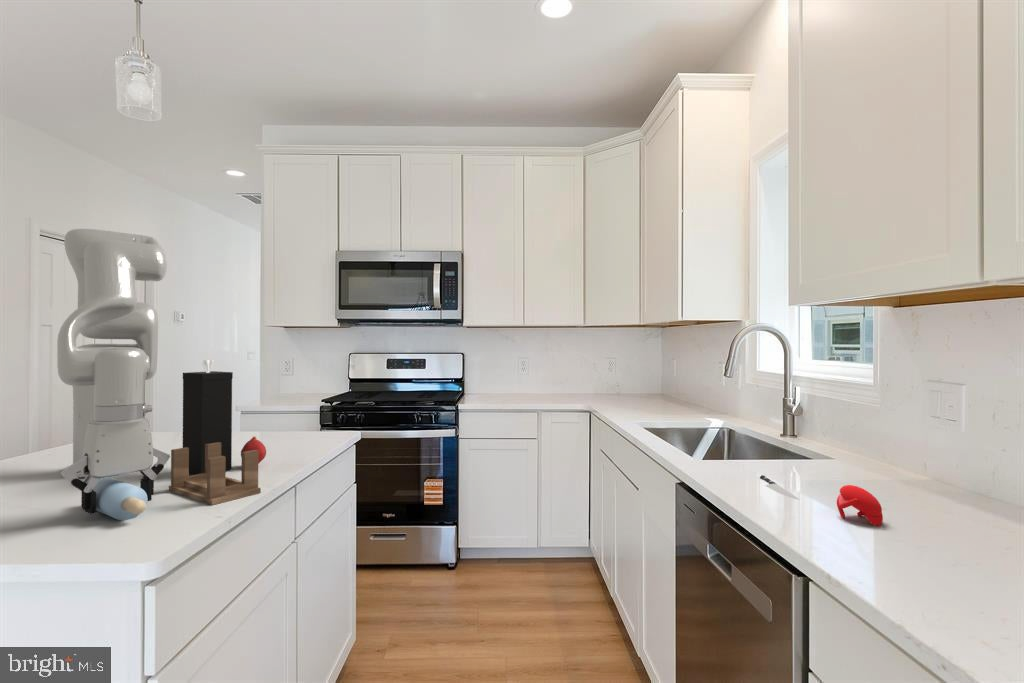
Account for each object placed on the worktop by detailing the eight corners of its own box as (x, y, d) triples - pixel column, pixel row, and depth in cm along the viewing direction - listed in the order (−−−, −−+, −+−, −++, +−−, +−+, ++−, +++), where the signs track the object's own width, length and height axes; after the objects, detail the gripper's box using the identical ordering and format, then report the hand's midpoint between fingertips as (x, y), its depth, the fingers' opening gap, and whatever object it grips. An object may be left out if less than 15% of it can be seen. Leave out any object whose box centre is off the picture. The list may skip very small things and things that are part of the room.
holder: (168, 490, 111) (169, 449, 111) (216, 480, 119) (216, 441, 119) (212, 505, 101) (212, 459, 101) (260, 492, 109) (260, 451, 109)
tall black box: (181, 473, 125) (182, 359, 125) (213, 466, 132) (213, 358, 132) (200, 477, 122) (201, 360, 122) (232, 470, 129) (232, 359, 129)
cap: (823, 497, 98) (845, 488, 93) (842, 484, 100) (865, 475, 95) (853, 536, 95) (878, 529, 90) (872, 521, 97) (898, 514, 92)
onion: (235, 469, 129) (235, 437, 129) (250, 463, 135) (251, 433, 135) (256, 470, 128) (256, 438, 128) (270, 464, 134) (270, 434, 134)
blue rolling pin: (80, 511, 99) (73, 481, 98) (116, 498, 104) (110, 470, 103) (122, 530, 89) (115, 498, 88) (160, 515, 94) (154, 484, 93)
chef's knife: (789, 504, 105) (804, 504, 105) (788, 499, 105) (803, 498, 105) (751, 479, 125) (763, 478, 124) (751, 474, 125) (763, 473, 124)
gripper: (161, 407, 106) (161, 491, 105) (52, 417, 91) (52, 515, 91) (179, 410, 101) (178, 497, 101) (68, 421, 87) (67, 523, 87)
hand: (119, 505), depth 96 cm, fingers open, 8 cm apart
